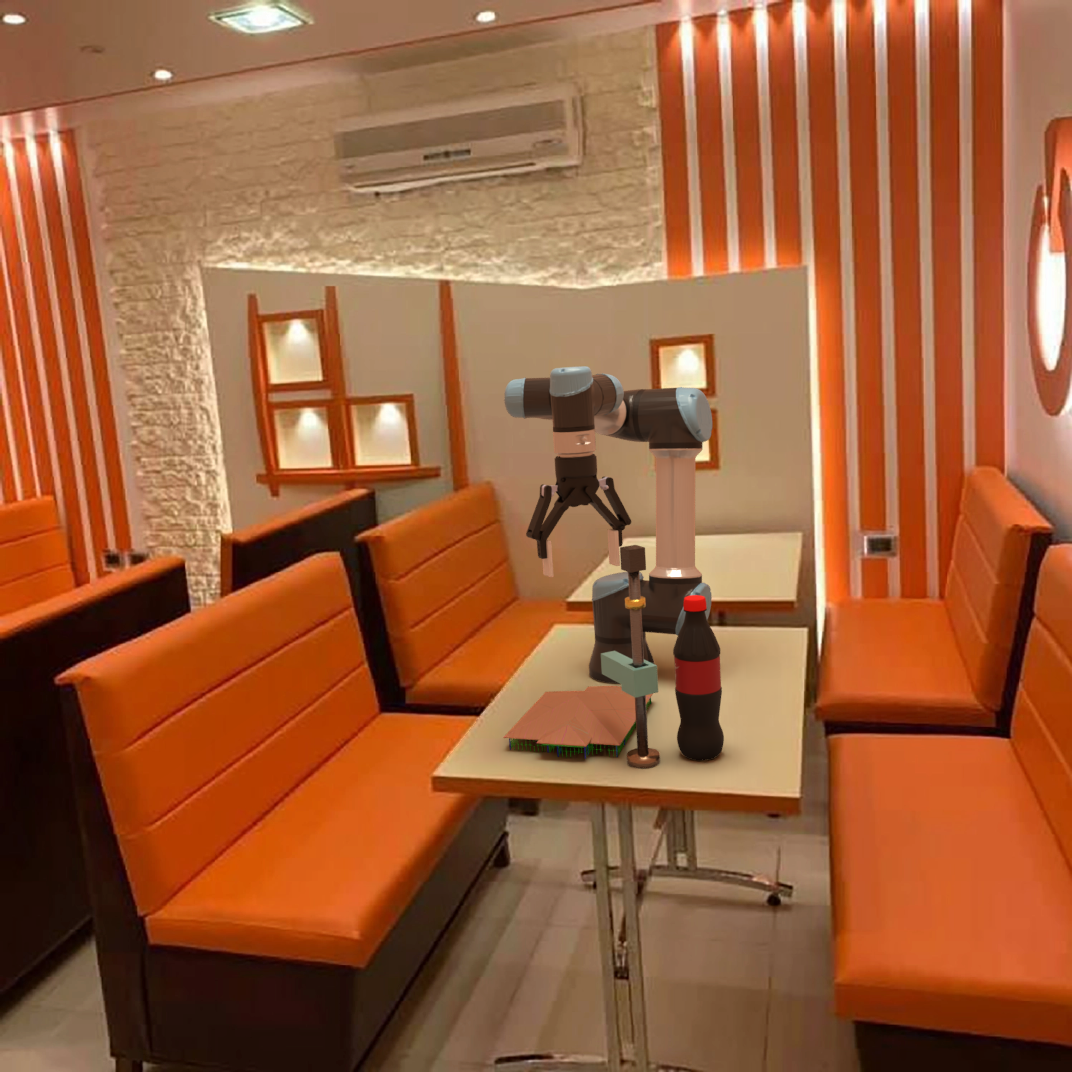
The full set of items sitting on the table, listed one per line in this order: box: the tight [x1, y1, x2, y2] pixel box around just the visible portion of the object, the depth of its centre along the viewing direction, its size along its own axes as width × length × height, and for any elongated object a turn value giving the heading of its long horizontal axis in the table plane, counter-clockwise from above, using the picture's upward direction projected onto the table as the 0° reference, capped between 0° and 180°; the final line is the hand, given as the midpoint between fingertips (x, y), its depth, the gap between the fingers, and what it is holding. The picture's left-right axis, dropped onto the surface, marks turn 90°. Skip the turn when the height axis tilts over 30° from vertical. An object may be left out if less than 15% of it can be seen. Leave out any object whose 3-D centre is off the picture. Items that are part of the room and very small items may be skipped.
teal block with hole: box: [601, 651, 659, 698], centre depth 192 cm, size 14×5×5 cm, turn 25°
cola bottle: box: [672, 595, 725, 762], centre depth 189 cm, size 8×8×30 cm
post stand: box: [619, 544, 661, 769], centre depth 187 cm, size 6×6×40 cm
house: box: [503, 685, 654, 760], centre depth 208 cm, size 23×33×8 cm
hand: (582, 570), depth 191 cm, fingers open, 13 cm apart
